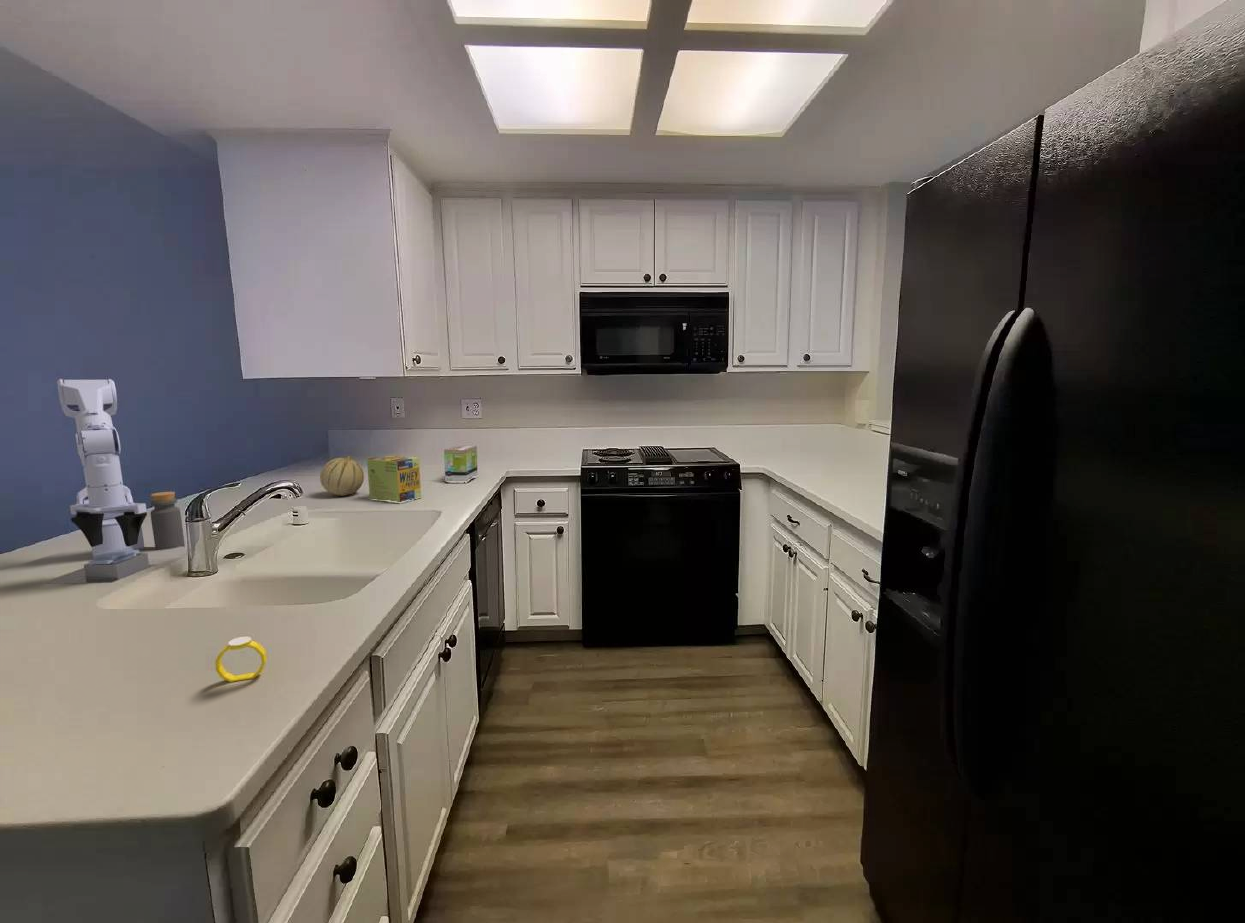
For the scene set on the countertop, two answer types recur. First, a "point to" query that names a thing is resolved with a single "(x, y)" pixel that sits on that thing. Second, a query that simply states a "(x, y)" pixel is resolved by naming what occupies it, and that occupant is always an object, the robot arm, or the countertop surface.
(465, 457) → the tea box
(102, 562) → the block
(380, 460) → the protein box
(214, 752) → the countertop surface
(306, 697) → the countertop surface
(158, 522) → the bottle
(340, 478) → the cantaloupe
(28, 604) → the countertop surface
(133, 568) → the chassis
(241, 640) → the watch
